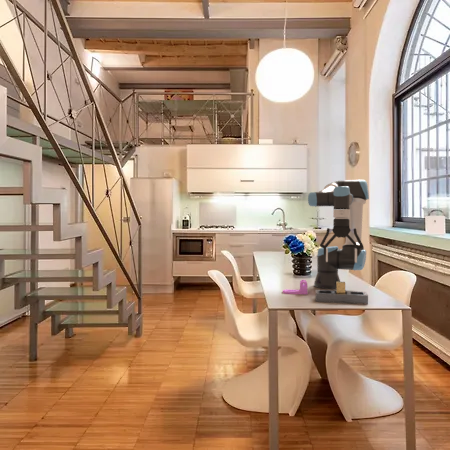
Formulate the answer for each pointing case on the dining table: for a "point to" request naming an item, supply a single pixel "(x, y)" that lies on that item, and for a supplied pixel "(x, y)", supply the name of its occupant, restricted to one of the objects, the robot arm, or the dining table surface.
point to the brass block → (340, 287)
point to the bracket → (302, 290)
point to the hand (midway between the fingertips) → (341, 261)
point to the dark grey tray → (341, 297)
